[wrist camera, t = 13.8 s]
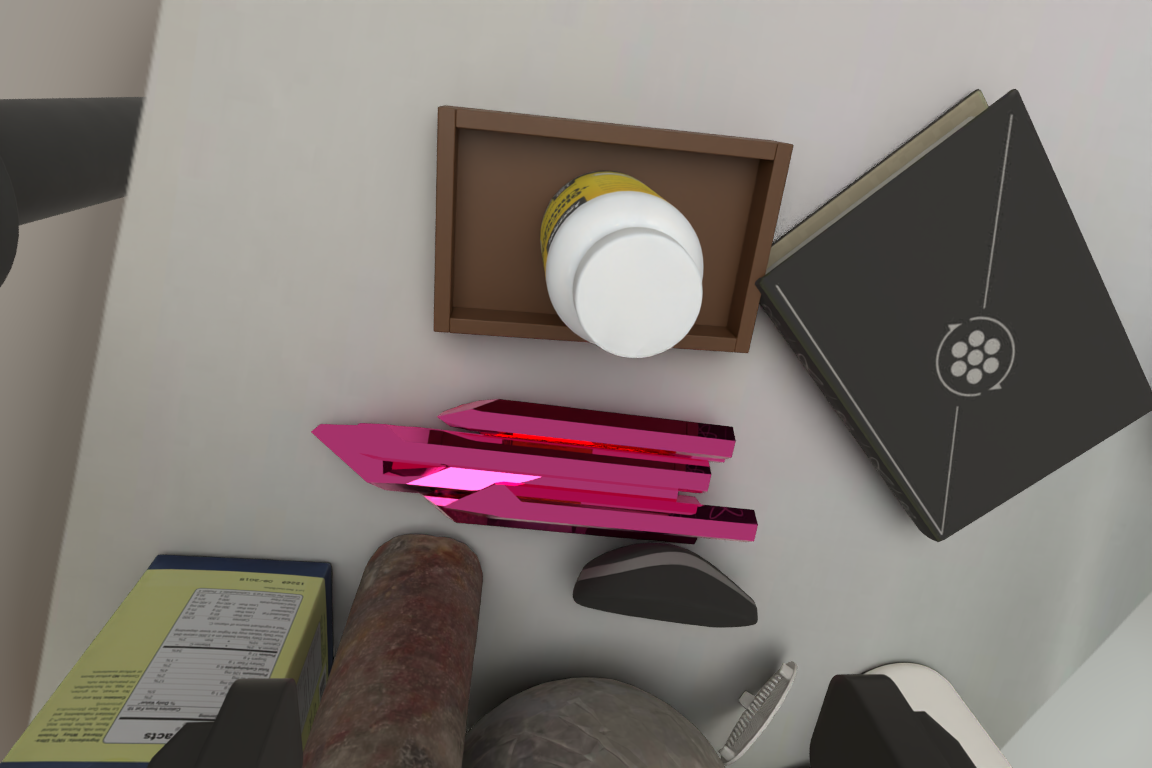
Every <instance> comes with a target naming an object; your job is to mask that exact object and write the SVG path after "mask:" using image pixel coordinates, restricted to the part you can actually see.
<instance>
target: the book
mask: <svg viewBox="0 0 1152 768" xmlns="http://www.w3.org/2000/svg"><path fill="white" fill-rule="evenodd" d="M755 286H756V287H757V289H758V290H759V292H760V293H761V297H760V304H761V305H762V307H763V308H764V310H765V311H766V312H767V314H768V315H769V317H770V318H771V320H772V321H773V322H774V324H775V325H776V327H777V328H778V330H779V331H780V332H781V334H782V335H783V337H784V338H785V339H786V341H787V342H788V344H789V345H790V347H791V348H792V349H793V351H794V352H795V354H796V355H797V357H798V358H799V359H800V361H801V362H802V364H803V365H804V367H805V368H806V369H807V371H808V372H809V374H810V375H811V376H812V378H813V379H814V381H815V382H816V384H817V385H818V386H819V388H820V389H821V391H822V392H823V394H824V395H825V396H826V398H827V399H828V401H829V402H830V404H831V405H832V406H833V408H834V409H835V411H836V412H837V413H838V415H839V416H840V418H841V419H842V421H843V422H844V423H845V425H846V426H847V428H848V429H849V431H850V432H851V433H852V435H853V436H854V438H855V439H856V441H857V442H858V443H859V445H860V446H861V448H862V449H863V450H864V452H865V453H866V455H867V456H868V458H869V459H870V460H871V462H872V463H873V465H874V466H875V468H876V469H877V470H878V472H879V473H880V475H881V476H882V477H883V479H884V480H885V482H886V483H887V485H888V486H889V487H890V489H891V490H892V492H893V493H894V495H895V496H896V497H897V499H898V500H899V502H900V503H901V505H902V506H903V507H904V509H905V510H906V512H907V513H908V514H909V516H910V517H911V519H912V520H913V522H914V523H915V524H916V526H917V527H918V529H919V530H920V531H921V532H922V533H923V534H925V535H926V536H927V537H929V538H930V539H932V540H935V541H937V542H940V541H942V540H945V539H946V538H948V537H949V536H951V535H953V534H954V533H956V532H957V531H959V530H961V529H962V528H964V527H965V526H967V525H969V524H970V523H972V522H973V521H975V520H977V519H978V518H980V517H982V516H983V515H985V514H986V513H988V512H990V511H991V510H993V509H994V508H996V507H998V506H999V505H1001V504H1002V503H1004V502H1006V501H1007V500H1009V499H1010V498H1012V497H1014V496H1015V495H1017V494H1018V493H1020V492H1022V491H1023V490H1025V489H1026V488H1028V487H1030V486H1031V485H1033V484H1035V483H1036V482H1038V481H1039V480H1041V479H1043V478H1044V477H1046V476H1047V475H1049V474H1051V473H1052V472H1054V471H1055V470H1057V469H1059V468H1060V467H1062V466H1063V465H1065V464H1067V463H1068V462H1070V461H1071V460H1073V459H1075V458H1076V457H1078V456H1079V455H1081V454H1083V453H1084V452H1086V451H1088V450H1089V449H1091V448H1092V447H1094V446H1096V445H1097V444H1099V443H1100V442H1102V441H1104V440H1105V439H1107V438H1108V437H1110V436H1112V435H1113V434H1115V433H1116V432H1118V431H1120V430H1121V429H1123V428H1124V427H1126V426H1128V425H1129V424H1131V423H1132V422H1134V421H1136V420H1137V419H1139V418H1141V417H1142V416H1144V415H1145V414H1147V413H1149V412H1150V411H1152V390H1151V388H1150V386H1149V384H1148V381H1147V379H1146V377H1145V375H1144V372H1143V370H1142V368H1141V366H1140V363H1139V361H1138V359H1137V357H1136V355H1135V352H1134V350H1133V348H1132V346H1131V343H1130V341H1129V339H1128V337H1127V334H1126V332H1125V330H1124V328H1123V325H1122V323H1121V321H1120V319H1119V316H1118V314H1117V312H1116V310H1115V307H1114V305H1113V303H1112V301H1111V298H1110V296H1109V294H1108V292H1107V289H1106V287H1105V285H1104V283H1103V280H1102V278H1101V276H1100V274H1099V271H1098V269H1097V267H1096V265H1095V262H1094V260H1093V258H1092V256H1091V253H1090V251H1089V249H1088V247H1087V244H1086V242H1085V240H1084V238H1083V236H1082V233H1081V231H1080V229H1079V227H1078V224H1077V222H1076V220H1075V218H1074V215H1073V213H1072V211H1071V209H1070V206H1069V204H1068V202H1067V200H1066V197H1065V195H1064V193H1063V191H1062V188H1061V186H1060V184H1059V182H1058V179H1057V177H1056V175H1055V173H1054V170H1053V168H1052V166H1051V164H1050V161H1049V159H1048V157H1047V155H1046V152H1045V150H1044V148H1043V146H1042V143H1041V141H1040V139H1039V137H1038V134H1037V132H1036V130H1035V128H1034V125H1033V123H1032V121H1031V119H1030V117H1029V114H1028V112H1027V110H1026V108H1025V105H1024V103H1023V101H1022V99H1021V96H1020V94H1019V92H1018V90H1016V89H1013V90H1011V91H1009V92H1008V93H1007V94H1005V95H1004V96H1003V97H1001V98H1000V99H999V100H997V101H996V102H995V103H993V104H992V105H991V106H989V107H988V104H987V102H986V100H985V98H984V96H983V94H982V92H981V90H979V89H977V90H975V91H973V92H972V93H971V94H969V95H968V96H967V97H965V98H964V99H963V100H962V101H960V102H959V103H958V104H956V105H955V106H954V107H952V108H951V109H950V110H948V111H947V112H946V113H944V114H943V115H942V116H940V117H939V118H938V119H937V120H935V121H934V122H933V123H931V124H930V125H929V126H927V127H926V128H925V129H923V130H922V131H921V132H919V133H918V134H917V135H915V136H914V137H913V138H912V139H910V140H909V141H908V142H906V143H905V144H904V145H902V146H901V147H900V148H898V149H897V150H896V151H894V152H893V153H892V154H890V155H889V156H888V157H886V158H885V159H884V160H883V161H881V162H880V163H879V164H877V165H876V166H875V167H873V168H872V169H871V170H869V171H868V172H867V173H865V174H864V175H863V176H861V177H860V178H859V179H858V180H856V181H855V182H854V183H852V184H851V185H850V186H848V187H847V188H846V189H844V190H843V191H842V192H840V193H839V194H838V195H836V196H835V197H834V198H833V199H831V200H830V201H829V202H827V203H826V204H825V205H823V206H822V207H821V208H819V209H818V210H817V211H815V212H814V213H813V214H811V215H810V216H809V217H807V218H806V219H805V220H804V221H802V222H801V223H800V224H798V225H797V226H796V227H794V228H793V229H792V230H790V231H789V232H788V233H786V234H785V235H784V236H782V237H781V238H780V239H779V240H777V241H776V242H775V243H773V244H772V246H771V251H770V256H769V260H768V265H767V269H766V274H765V275H764V276H763V277H762V278H758V280H756V282H755Z"/></svg>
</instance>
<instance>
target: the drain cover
mask: <svg viewBox="0 0 1152 768" xmlns="http://www.w3.org/2000/svg"><path fill="white" fill-rule="evenodd" d="M796 673H797V665H796V664H795V663H794V662H793V661H791V662H788V663H787V664H785V663H783V664H782V666H781V668H780V669H779V670H778V671H777V672H776V673H775V674H774V675H773V676H772V677H771V678H770V679H769V680H768V681H767V682H766V684H765V685H764V686H763V687H762V688H761V689H760V691H759V692H758V693H757V695H756V696H753V695H752V694H750V693H749V692H747V691H745V692H744V693H743V694H742V696H741V697H740V699H739V700H738V701H739V702H740V703H741V705H742V706H743V707H744V708H745V709H746V710H745V711H744V713H743V714H742V716H741V717H740V719H739V720H738V722H737V723H736V725H735V727H734V728H733V730H732V732H731V734H730V736H729V738H728V740H727V742H726V744H725V746H724V747H723V748H722V749H720V750H719V753H720V754H721V761H722V762H723V764H724V765H726V766H727V765H730V764H732V763H733V762H735V761H736V760H737V759H739V758H740V757H741V756H742V755H743V754H744V753H745V752H746V751H747V750H748V749H749V748H750V747H751V745H752V744H753V743H754V742H755V741H756V740H757V738H758V737H759V736H760V735H761V733H762V732H763V731H764V729H765V728H766V727H767V725H768V724H769V723H770V721H771V720H772V718H773V717H774V715H775V714H776V712H777V711H778V709H779V708H780V706H781V704H782V703H783V701H784V699H785V698H786V696H787V694H788V692H789V690H790V688H791V686H792V684H793V682H794V679H795V677H796ZM778 677H781V679H779V678H778ZM775 680H777V681H778V683H776V682H774V681H775ZM772 683H773V684H774V685H775V687H773V686H772V685H771V684H772ZM768 687H770V688H771V689H773V690H772V691H770V690H769V689H768ZM765 691H767V692H769V693H770V694H769V696H768V695H767V694H766V693H765ZM762 694H764V695H765V696H766V697H767V698H766V699H765V698H764V697H762ZM759 698H761V699H762V700H763V701H764V703H762V702H761V701H760V700H759ZM756 702H758V703H759V704H760V705H761V707H759V706H758V705H757V704H756ZM753 706H755V707H756V708H757V709H758V711H756V710H755V708H754V707H753ZM751 709H752V710H753V712H754V713H755V715H753V713H752V712H751V711H750V710H751ZM748 713H749V714H750V716H751V717H752V719H751V718H750V717H749V716H748ZM745 718H747V719H748V721H749V723H748V722H747V721H746V719H745ZM742 722H744V723H745V725H746V727H745V726H744V724H743V723H742ZM740 726H741V727H742V729H743V731H742V730H741V728H740ZM737 731H739V733H740V735H739V733H738V732H737ZM735 735H736V737H737V739H736V737H735ZM733 741H734V743H733ZM730 746H731V747H730Z"/></svg>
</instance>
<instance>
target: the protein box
mask: <svg viewBox="0 0 1152 768" xmlns="http://www.w3.org/2000/svg"><path fill="white" fill-rule="evenodd" d="M332 665H333V635H332V579H331V565H330V564H329V563H322V562H301V561H279V560H263V559H242V558H220V557H198V556H178V555H158V556H156V558H155V559H154V561H153V562H152V563H151V565H150V566H149V568H148V569H147V570H146V572H145V573H144V574H143V576H142V577H141V579H140V580H139V581H138V583H137V584H136V585H135V587H134V588H133V589H132V591H131V592H130V593H129V594H128V596H127V597H126V598H125V600H124V601H123V602H122V604H121V605H120V606H119V608H118V609H117V610H116V612H115V613H114V614H113V615H112V617H111V618H110V619H109V621H108V622H107V623H106V625H105V626H104V627H103V629H102V630H101V631H100V633H99V634H98V635H97V636H96V638H95V639H94V640H93V642H92V643H91V644H90V646H89V647H88V648H87V650H86V651H85V652H84V654H83V655H82V656H81V658H80V659H79V660H78V662H77V663H76V664H75V666H74V667H73V668H72V670H71V671H70V672H69V674H68V675H67V676H66V677H65V679H64V680H63V681H62V683H61V684H60V685H59V687H58V688H57V689H56V691H55V692H54V693H53V695H52V696H51V697H50V699H49V700H48V701H47V702H46V704H45V705H44V706H43V708H42V709H41V710H40V712H39V713H38V714H37V716H36V717H35V718H34V720H33V721H32V722H31V724H30V725H29V726H28V728H27V729H26V730H25V732H24V733H23V734H22V735H21V737H20V738H19V739H18V741H17V742H16V743H15V745H14V746H13V747H12V749H11V750H10V751H9V753H8V754H7V755H6V757H5V758H4V760H3V761H2V762H1V763H0V768H147V766H148V764H149V762H150V760H151V758H152V757H153V756H154V755H155V754H156V753H157V752H158V751H159V750H160V749H161V748H162V747H163V746H164V745H165V744H166V743H167V742H168V741H169V740H170V739H171V738H172V737H173V736H174V735H175V734H176V733H177V732H178V731H179V730H180V729H181V728H182V727H183V726H184V725H185V724H186V723H187V722H214V721H215V719H216V717H217V715H218V712H219V710H220V708H221V706H222V704H223V701H224V699H225V697H226V695H227V693H228V691H229V689H230V687H231V685H232V684H233V683H234V681H235V680H237V679H264V678H293V679H294V680H295V682H296V687H297V696H298V706H299V716H300V726H301V736H302V746H303V751H304V748H305V745H306V743H307V740H308V737H309V734H310V731H311V728H312V725H313V721H314V718H315V715H316V713H317V710H318V708H319V705H320V702H321V698H322V695H323V692H324V689H325V687H326V684H327V681H328V678H329V675H330V672H331V668H332Z"/></svg>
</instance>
